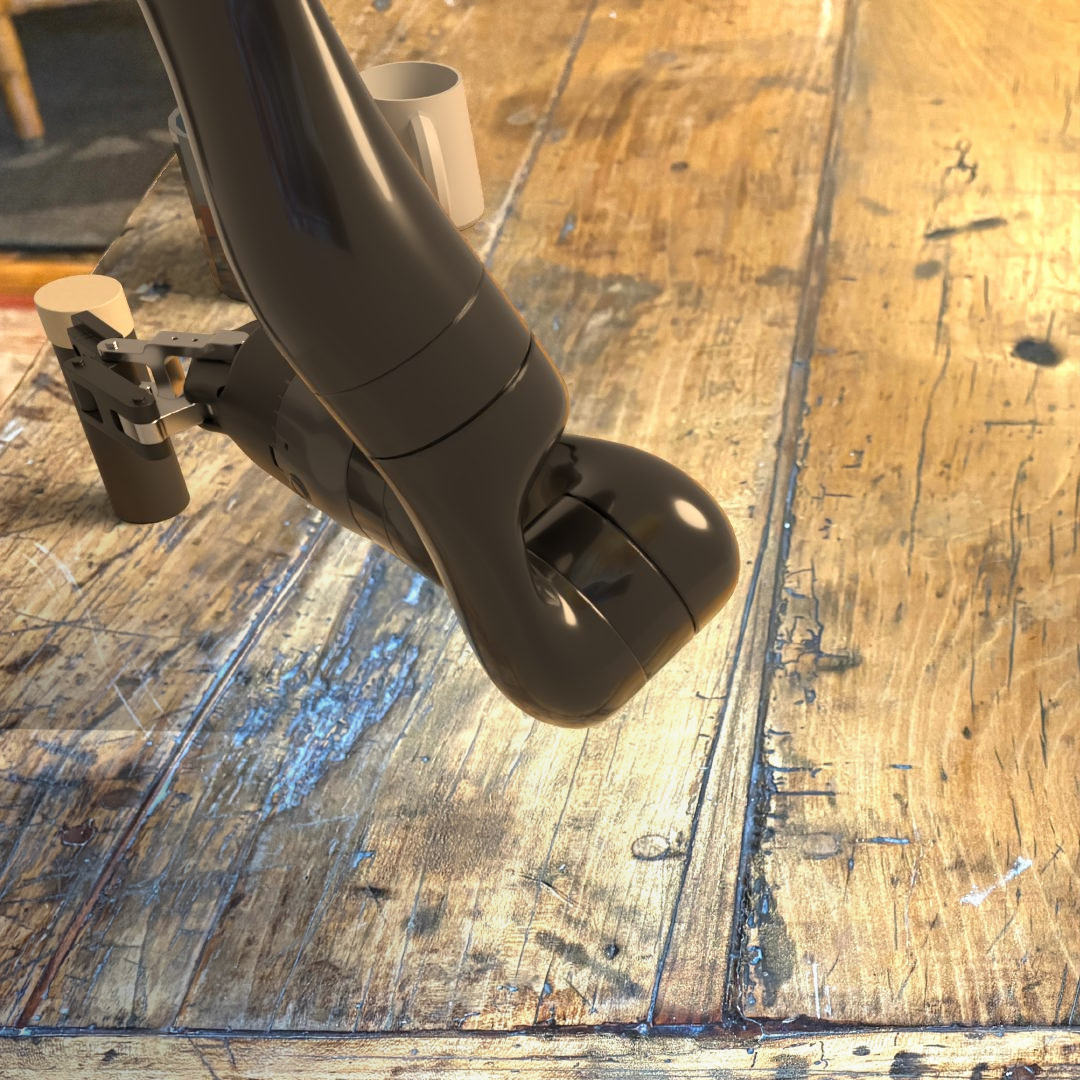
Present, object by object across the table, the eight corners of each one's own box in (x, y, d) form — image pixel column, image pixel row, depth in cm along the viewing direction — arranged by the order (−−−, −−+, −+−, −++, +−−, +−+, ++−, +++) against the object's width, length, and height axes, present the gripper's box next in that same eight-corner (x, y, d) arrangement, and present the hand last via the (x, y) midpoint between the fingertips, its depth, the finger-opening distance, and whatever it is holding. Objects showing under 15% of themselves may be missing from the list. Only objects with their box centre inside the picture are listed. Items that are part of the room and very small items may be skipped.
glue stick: (101, 524, 98) (20, 310, 89) (126, 483, 101) (50, 273, 92) (179, 525, 98) (105, 312, 89) (202, 485, 101) (133, 274, 92)
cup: (476, 188, 129) (452, 56, 123) (503, 246, 123) (479, 109, 117) (373, 201, 127) (343, 67, 121) (395, 260, 121) (365, 122, 115)
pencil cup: (196, 303, 116) (147, 142, 109) (238, 239, 123) (194, 84, 115) (346, 306, 116) (307, 146, 109) (380, 242, 123) (345, 87, 116)
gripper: (491, 290, 76) (289, 177, 84) (176, 405, 69) (-12, 269, 76) (522, 453, 81) (330, 333, 89) (233, 574, 74) (52, 432, 82)
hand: (172, 304), depth 83 cm, fingers open, 8 cm apart
